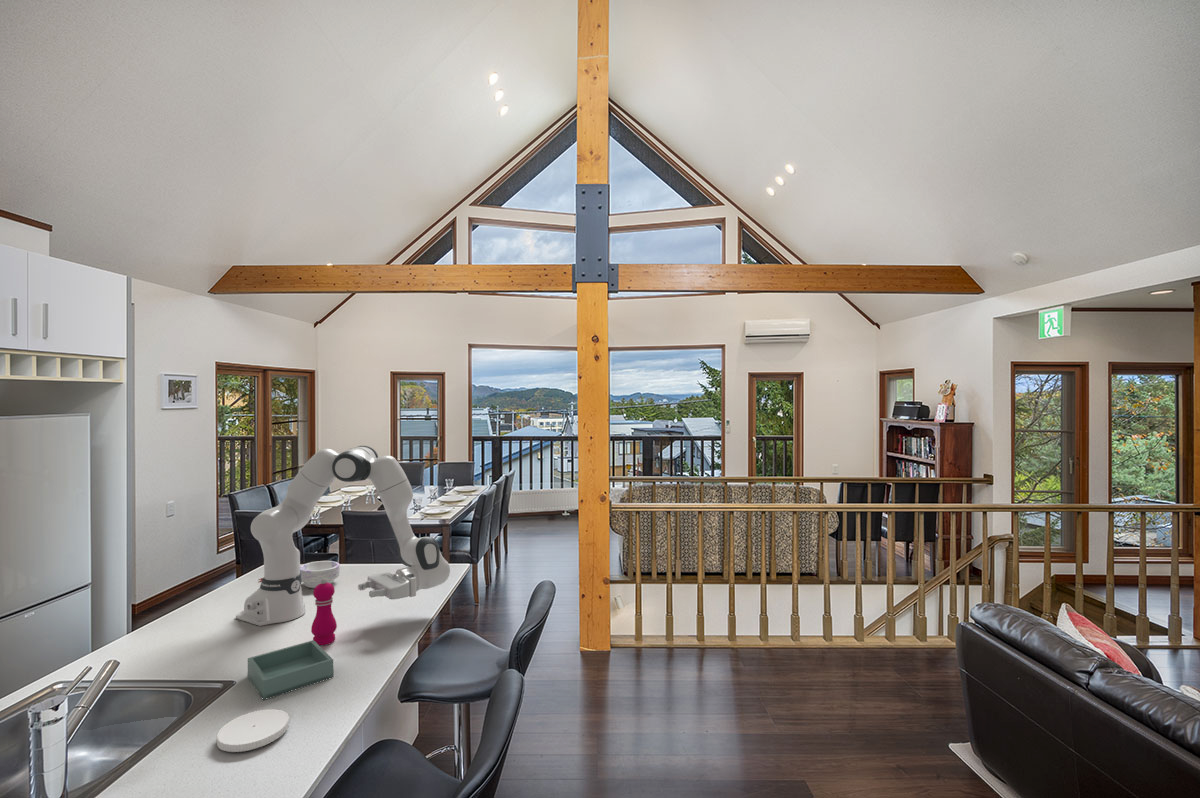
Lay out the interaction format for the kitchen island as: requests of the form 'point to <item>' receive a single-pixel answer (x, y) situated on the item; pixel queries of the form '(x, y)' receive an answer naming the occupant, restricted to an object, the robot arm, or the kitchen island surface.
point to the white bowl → (319, 572)
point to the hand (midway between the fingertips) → (364, 591)
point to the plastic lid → (252, 730)
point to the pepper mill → (324, 614)
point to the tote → (289, 668)
